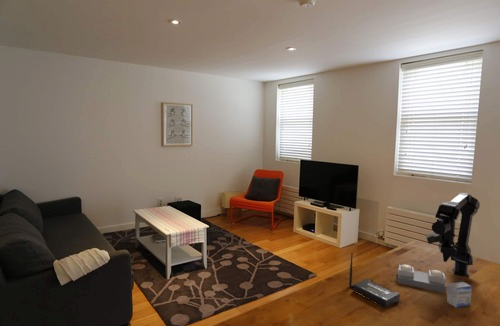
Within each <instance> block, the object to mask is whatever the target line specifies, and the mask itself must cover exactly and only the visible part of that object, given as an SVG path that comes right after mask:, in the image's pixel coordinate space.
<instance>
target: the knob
mask: <svg viewBox="0 0 500 326" xmlns="http://www.w3.org/2000/svg"><path fill="white" fill-rule="evenodd" d="M401 265H402V267H401V270H406V271H411V268H412V267H413V266H411V265H410V264H401Z"/></svg>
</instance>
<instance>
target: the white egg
mask: <svg viewBox="0 0 500 326" xmlns="http://www.w3.org/2000/svg"><path fill="white" fill-rule="evenodd" d="M431 271H432V274H431V275H432V276H438V277H442V274H443V273H444V272H443V271H440V270H439V269H438V270H437V269H432V270H431Z"/></svg>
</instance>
